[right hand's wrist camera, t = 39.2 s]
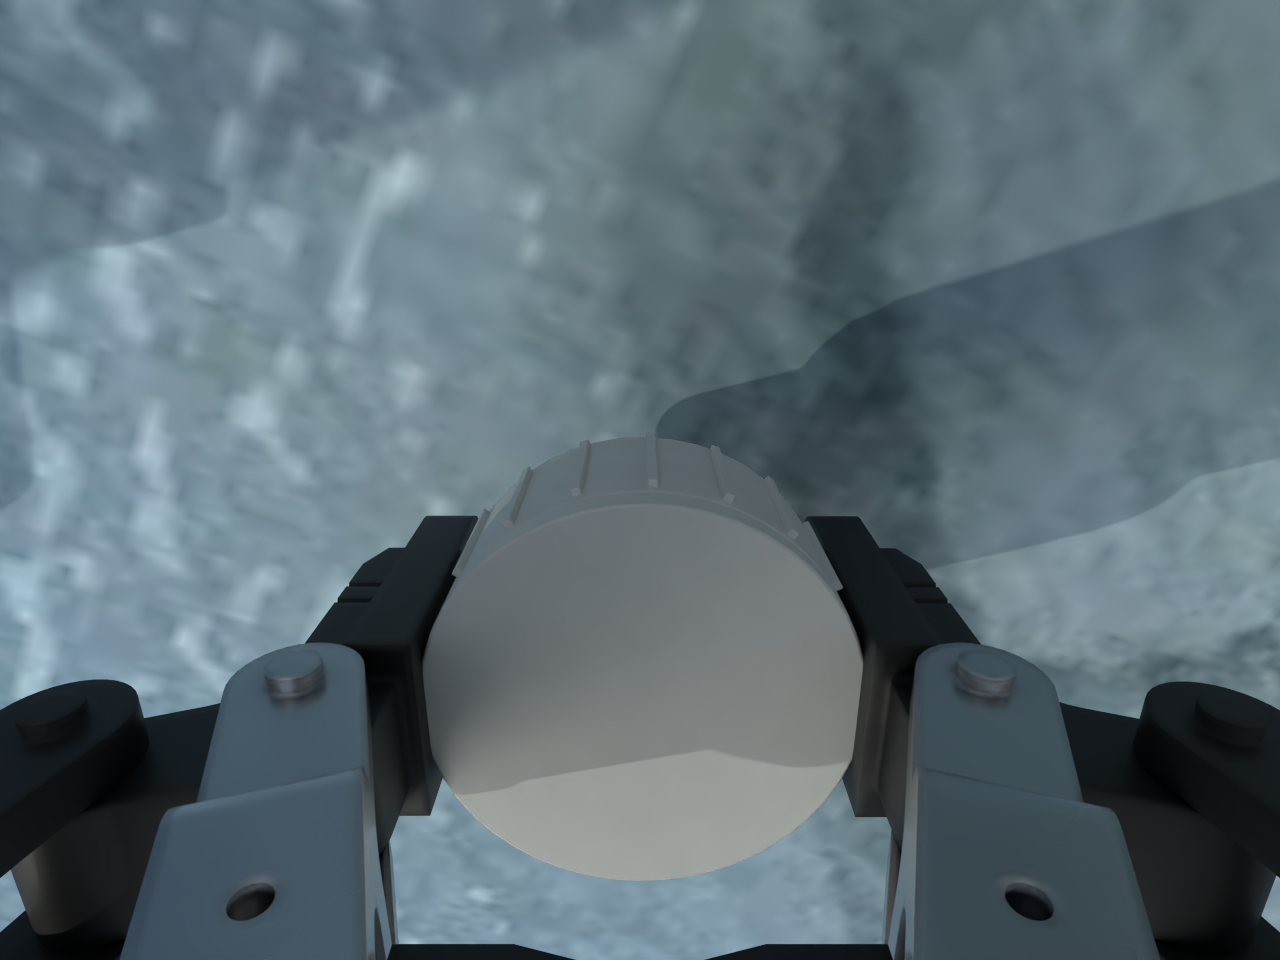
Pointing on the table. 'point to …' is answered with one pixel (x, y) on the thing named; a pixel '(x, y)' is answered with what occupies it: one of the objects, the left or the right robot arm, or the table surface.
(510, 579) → the lid
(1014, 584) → the table surface
